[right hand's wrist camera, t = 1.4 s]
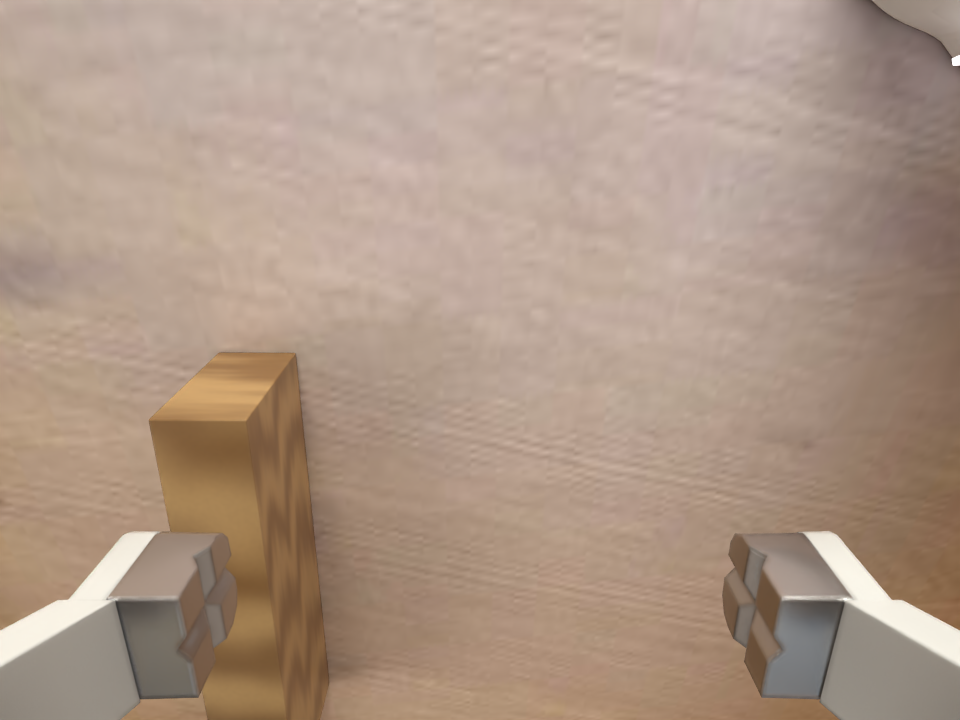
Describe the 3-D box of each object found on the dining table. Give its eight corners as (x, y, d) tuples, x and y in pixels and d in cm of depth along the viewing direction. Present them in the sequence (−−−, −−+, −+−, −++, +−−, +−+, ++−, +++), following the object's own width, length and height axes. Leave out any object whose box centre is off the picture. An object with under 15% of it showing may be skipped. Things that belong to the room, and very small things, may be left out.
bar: (218, 352, 38) (147, 419, 30) (295, 352, 38) (245, 420, 30) (267, 682, 47) (223, 802, 39) (329, 682, 47) (298, 803, 39)
